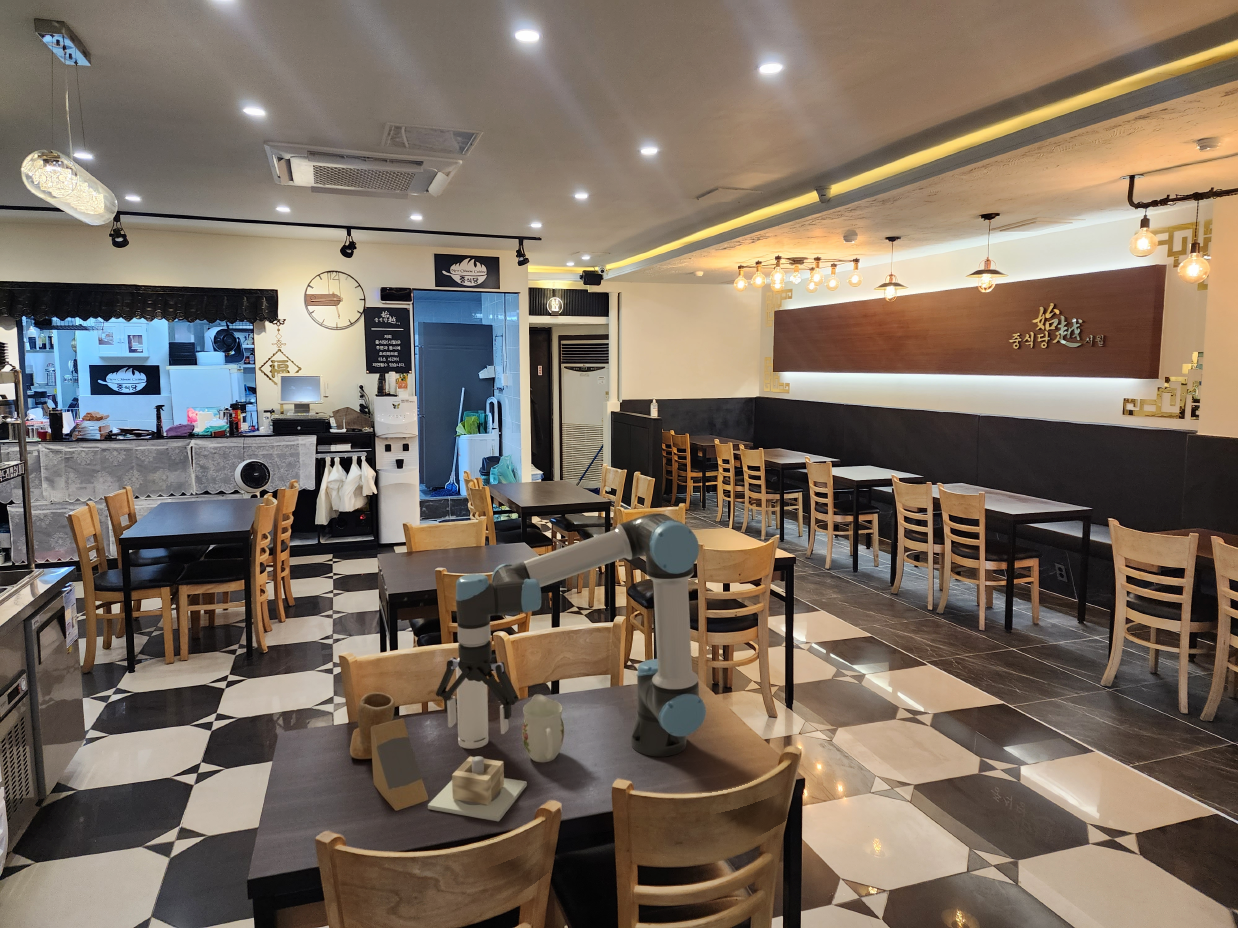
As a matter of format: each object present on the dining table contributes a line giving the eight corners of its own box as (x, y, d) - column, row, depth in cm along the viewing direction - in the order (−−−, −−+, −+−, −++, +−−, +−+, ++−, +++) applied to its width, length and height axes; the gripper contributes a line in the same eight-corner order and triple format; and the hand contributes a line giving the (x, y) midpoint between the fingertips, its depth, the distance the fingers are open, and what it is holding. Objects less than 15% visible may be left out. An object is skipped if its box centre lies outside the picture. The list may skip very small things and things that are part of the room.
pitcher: (529, 777, 197) (528, 725, 195) (518, 744, 214) (517, 696, 212) (572, 771, 200) (571, 719, 198) (557, 739, 217) (557, 691, 215)
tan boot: (395, 759, 206) (393, 704, 204) (347, 764, 203) (345, 709, 202) (398, 733, 221) (396, 682, 219) (353, 737, 218) (351, 686, 216)
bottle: (491, 735, 219) (489, 638, 216) (483, 749, 211) (481, 648, 208) (463, 733, 220) (460, 637, 217) (454, 747, 212) (451, 647, 209)
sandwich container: (394, 812, 182) (392, 750, 180) (372, 784, 194) (369, 726, 192) (430, 799, 187) (428, 740, 185) (405, 773, 199) (403, 716, 197)
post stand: (526, 785, 193) (526, 748, 192) (498, 821, 178) (498, 781, 177) (460, 774, 198) (459, 738, 197) (427, 808, 183) (426, 770, 182)
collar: (504, 784, 191) (503, 761, 190) (487, 804, 182) (487, 780, 182) (470, 779, 193) (469, 756, 193) (452, 798, 185) (452, 774, 184)
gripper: (530, 640, 183) (533, 726, 186) (434, 631, 190) (439, 715, 193) (517, 651, 176) (520, 741, 179) (418, 642, 183) (423, 728, 186)
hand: (478, 727), depth 186 cm, fingers open, 13 cm apart
